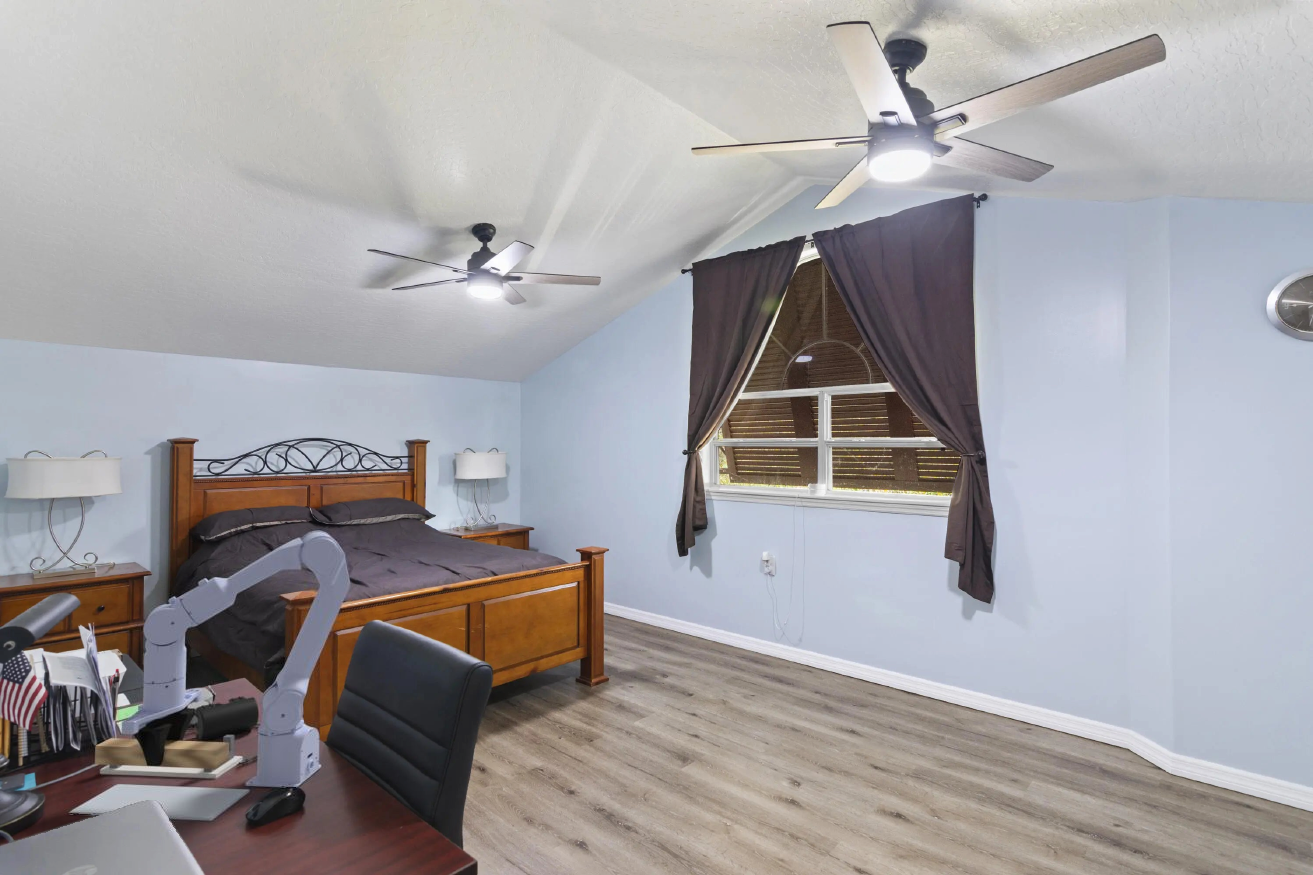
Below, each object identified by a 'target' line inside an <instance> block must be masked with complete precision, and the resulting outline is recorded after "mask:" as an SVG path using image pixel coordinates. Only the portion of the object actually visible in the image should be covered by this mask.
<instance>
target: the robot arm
mask: <svg viewBox="0 0 1313 875" xmlns="http://www.w3.org/2000/svg"><path fill="white" fill-rule="evenodd" d="M301 563H302V564H304V565H305V566H306V567H307V568H308V569H309V570H310V571H311V572H313V574H314V575H315V578H316V580H317V581H318V584H319V587H318V590H317V592H316V594H315V597H314V598H313V601H312V603H311V605H310V608H309V610H308V612H307V615H306V617H305V619H304V621H303V623H302V626H301V627H300V630H299V633H298V635H297V636H296V639H295V642H294V644H293V645H292V648H291V650H290V652H289V655H288V657H287V659H286V661H285V663H284V666H283V668H282V669H281V670H280V671H279V673H278V674H277V676H276V679H274V680H275V681H274V682H273V683H272V685H270V686H269V687H268V688H267V689H266V690H265V691H264V693H263V694H262V695H261V699H260V708H261V710H262V712H261V713H262V716H261V721H262V722H261V724H259V726H258V727H257V762H256V763H257V764H256V765H257V769H256V770H257V772H256V773H257V774H256V775H254V776H253V777H251V778H250V779H248V781H246V782H245V786H246V787H263V788H264V787H267V788H268V787H269V788H283V787H282V786H292V787H296V788H298V787H299V786H300V785H302V784H303V783H304V782H306V781H307V779H309V778H310V777H312V775H314V774H315V773H316V772H317V771H318V770H320V769H321V767H322V764H320V733H319V730H318V729H317V728H316V727H312V726H309V725H307V724H305V721H304V718H303V715H304V706H303V704H304V700H305V697H306V695H307V692H308V687H309V682H310V678H311V676H312V674H313V671H314V669H315V667H316V664H317V662H318V660H319V658H320V655H321V653H322V650H323V648H324V646H325V644H326V641H327V639H328V638H329V637H328V636H329V634H330V632H331V630H332V628H333V625H334V623H335V621H336V619H337V617H338V615H339V612H340V609H341V607H342V605H343V603H344V600H345V598H346V596H347V593H348V592H349V589H350V586H351V579H350V576H349V571H348V570H349V569H348V565H347V561H346V553H345V552H344V550H343V549H342V547H341V546H340V545H339V543H338V541H336V539H334V538H333V537H332V535H330V534H329V533H328V532H325V531H322V530H313V531H309V532H308V533H305V534H304V535H303V536H302V537H297V538H294V539H292V540H290V541H288V542H286V543H284V544H282V545H280V546H279V547H277V548H275V549H274V550H272V551H270V552H268V553H267V554H266V555H264V556H262V557H260V558H259V559H257V560H255V561H254V562H252V563H250V564H249V565H247V566H246V567H244V568H242V569H241V570H239V571H237V572H236V573H234V574H233V575H231V576H229V577H227V578H224V577H217V576H216V577H212V578H210V579H209V580H208V579H207V578H206V577H205V578H203V579H201V580H200V581H198V583H197V584H198V586H196V587H195V588H192V589H190V590H189V591H187V592H185V593H184V594H182V595H180V596H178V597H177V596H172V597H171V598H168V604H167V603H164V604H162V605H159V606H157V607H156V608H154V609H153V610H152V611H151V612H150V613H149V615H148V617H147V618H146V619H145V622H144V624H143V630H142V631H143V635H144V637H145V639H146V640H145V644H144V648H145V652H144V655H143V656H144V658H143V659H144V660H143V692H142V693H143V696H142V697H143V698H142V700H143V702H142V703H140V704H139V705H138V706H137V711H136V712H135V713H133V714H132V715H131V716H129V717H128V718H127V719H125V720H123V721H121V734H122V735H132V734H133V735H134V736H135V738H136V739H137V741H138V742H139V744H140V746H141V748H142V751H143V754H144V757H145V760H146V763H147V766H160V765H161V764H162V761H163V757H164V748H165V742H166V740H172V741H184V739H185V734H186V732H187V730H188V727H189V726H190V725H189V724H190V722H191V720H192V718H193V717H194V715H195V709H194V708H188V705H189V704H191V703H193V702H199V701H201V700H202V690H198V689H194V688H190V689H191V690H189V691H186V692H185V690H186V688H187V687H186V681H187V680H186V679H187V676H186V674H187V647H186V645H185V644H186V642H185V641H186V632H187V630H188V629H189V628H193V627H197V626H199V625H200V624H203V623H204V622H206V621H207V620H209V619H211V618H212V617H214V616H215V615H217V614H219V613H221V612H223V611H224V610H226V609H228V608H229V607H231V606H233V605H234V604H235V601H236V597H237V594H239V593H242V592H243V591H244V590H247V589H248V588H251V587H252V586H255V585H256V584H258V583H259V582H261V581H264V580H265V579H267V578H269V577H271V576H273V575H274V574H277V573H278V572H280V571H282V570H283V571H284V570H302V565H301Z"/></svg>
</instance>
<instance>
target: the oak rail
mask: <svg viewBox="0 0 1313 875" xmlns="http://www.w3.org/2000/svg"><path fill="white" fill-rule="evenodd" d="M94 750H95V751H94V764H95V765H105V766H107V765H129V766H147V763H146V760H145V757H144V754H143V751H142V748H141V746H140V744H139V742H138V741H137V739H132V738H115V737H110V738H109V739H106V740H104V741H103V742H101V743H99V744H96V745H95V749H94ZM228 761H229V743H225V742H223V741H222V742H221V741H220V742H219V741H209V742H199V741H198V740H197V741H195V740H193V741H192V740H183V741H172V740H166V742H165V748H164V757H163V761H162V764H161V765H160V766H153V767H178V768H202V769H217V768H218V767H220V766H221V765H223V764H225V763H226V762H228Z"/></svg>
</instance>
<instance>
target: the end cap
mask: <svg viewBox="0 0 1313 875" xmlns="http://www.w3.org/2000/svg"><path fill="white" fill-rule="evenodd" d="M222 704H223V705H219V706H216V705H214V703H212V704H209V705H205V706H203V705H202V706H200V707H198V708H197V709H196V713H195V716H196V717H197V718H198V719H199V723H198V722H196V723H195V724H193V725H194V727H195V728H194V730H195V731H196V732H197V734H195V739H196V740H197V741H199V742H213V741H215V740H219V739H223V737H224V736H226V735H238V734H241V733H245V732H248V731H252V730H253V729H254V727H256V726H257V725H258V722H259V716H260V715H259V706H258V702H257V700H256V698H255V697H254V696H251V697H248V698H246V697H245V696H243V695H242V696H238V697H232V698H230V699H228V702H227V703H222Z"/></svg>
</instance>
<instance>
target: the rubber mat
mask: <svg viewBox="0 0 1313 875" xmlns="http://www.w3.org/2000/svg"><path fill="white" fill-rule="evenodd" d="M248 793H250V789H243V788H242V789H241V788H223V787H221V788H218V787H200V786H199V787H194V786H172V785H171V786H170V785H169V786H168V785H167V786H166V785H143V784H126V783H125V784H121V783H117V784H115V785H113V786H112V787H110V788H108V789H107V790H105V791H103V792H102V793H100V794H97V795H96V796H94V797H92V798H91V799H89V800H87V801H85V802H84V803H82V804H80V805H79V806H77V807H75V808H73V809H72V810H71V811H70V810H69V813H79V814H91V815H90V816H95V815H99V814H102V813H105V812H109V811H113V810H116V809H118V808H122V807H124V806H127V805H130V804H134V803H137V802H141V801H146V800H156V801H158V802H159V803H160V804H161V805H162V807H163V809H164V810H165V812H166V814H167V815H168V816H169V818H170V819H169V820H189V821H213V820H215V818H217V817H218V816H220V815H221V814H222V813H223V812H225V811H227V810H228V809H229V808H230V807H231V806H233V805H234V804H236V803H237V802H238V801H239V800H240V799H242V798H243V797H245V796H246V795H247V794H248ZM69 813H68V814H69ZM94 813H95V814H94Z"/></svg>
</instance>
